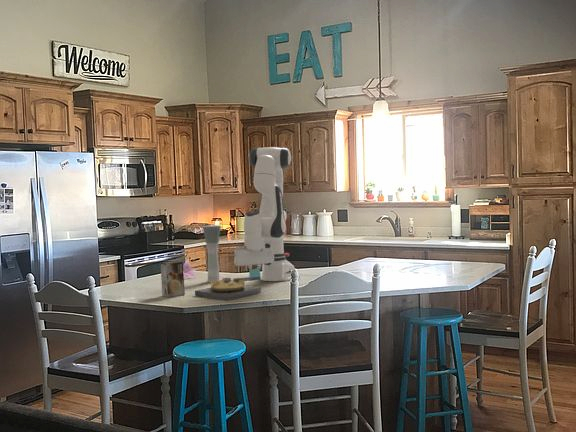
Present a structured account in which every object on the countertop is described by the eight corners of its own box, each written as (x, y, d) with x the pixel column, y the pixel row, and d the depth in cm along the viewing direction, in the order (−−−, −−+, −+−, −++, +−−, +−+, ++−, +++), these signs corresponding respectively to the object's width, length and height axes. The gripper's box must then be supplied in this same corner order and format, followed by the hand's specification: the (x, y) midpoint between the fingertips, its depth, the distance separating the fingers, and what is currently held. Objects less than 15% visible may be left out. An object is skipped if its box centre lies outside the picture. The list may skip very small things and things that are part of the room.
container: (201, 282, 349) (199, 226, 347) (211, 279, 357) (209, 225, 356) (216, 283, 345) (213, 226, 343) (226, 280, 353) (223, 225, 351)
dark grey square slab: (228, 288, 326) (227, 283, 326) (260, 292, 312) (260, 287, 311) (195, 295, 309) (194, 290, 309) (227, 300, 295) (227, 294, 295)
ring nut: (214, 292, 300) (213, 274, 299) (208, 287, 315) (207, 270, 315) (264, 288, 307) (264, 271, 306) (256, 283, 323) (255, 266, 322)
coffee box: (179, 293, 318) (177, 260, 317) (185, 294, 313) (183, 261, 312) (161, 295, 313) (160, 262, 312) (167, 297, 308) (166, 263, 307)
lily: (172, 282, 361) (178, 267, 358) (172, 271, 372) (177, 257, 368) (193, 287, 365) (199, 272, 362) (192, 276, 375) (197, 262, 372)
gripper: (236, 247, 307) (238, 276, 308) (275, 244, 317) (276, 272, 318) (231, 246, 313) (232, 275, 314) (269, 243, 323) (270, 270, 323)
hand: (254, 273), depth 316 cm, fingers closed
